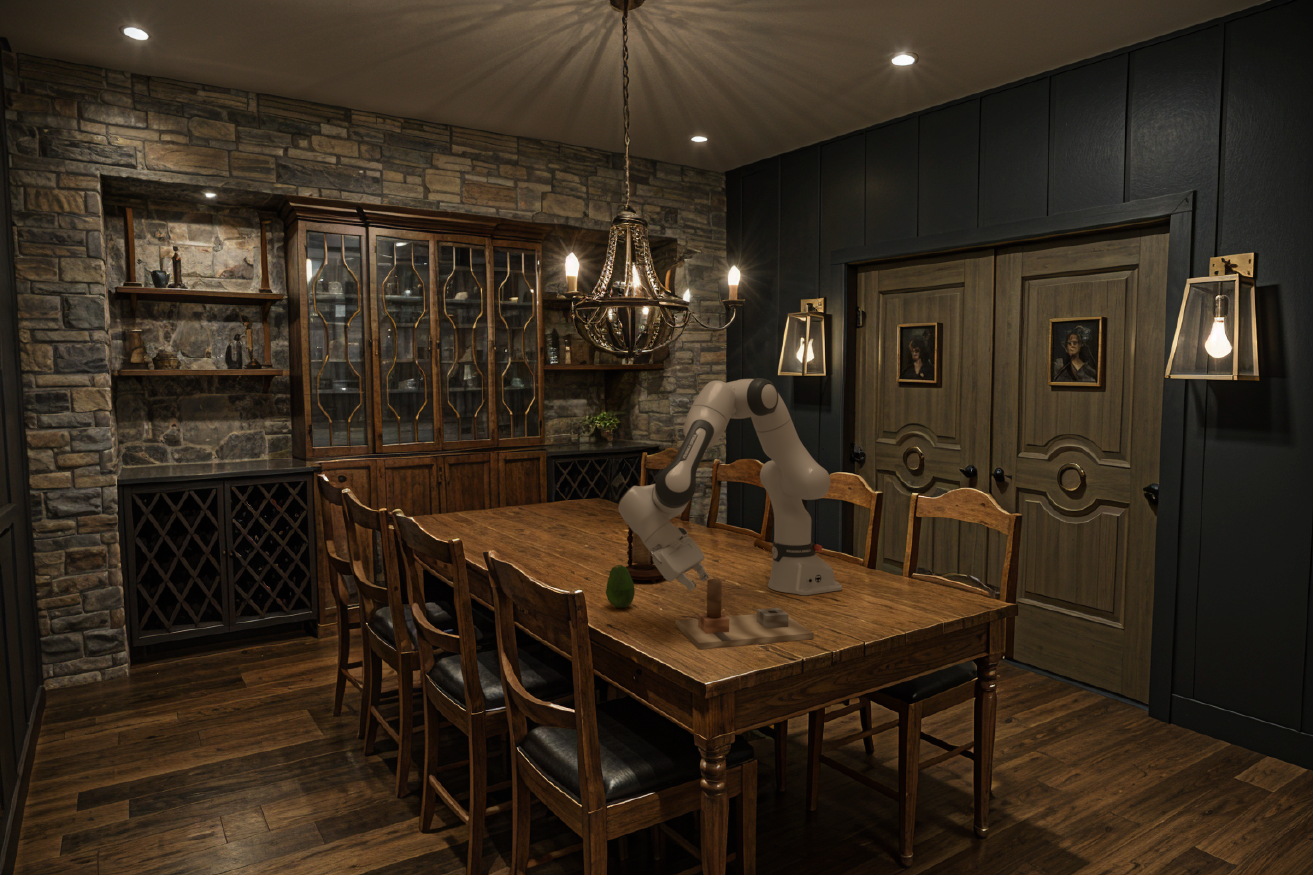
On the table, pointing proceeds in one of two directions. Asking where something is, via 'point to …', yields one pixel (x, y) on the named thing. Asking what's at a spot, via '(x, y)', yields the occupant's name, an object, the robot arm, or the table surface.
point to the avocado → (620, 587)
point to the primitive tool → (763, 545)
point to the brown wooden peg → (714, 598)
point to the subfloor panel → (743, 629)
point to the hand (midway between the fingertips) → (700, 584)
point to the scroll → (640, 560)
